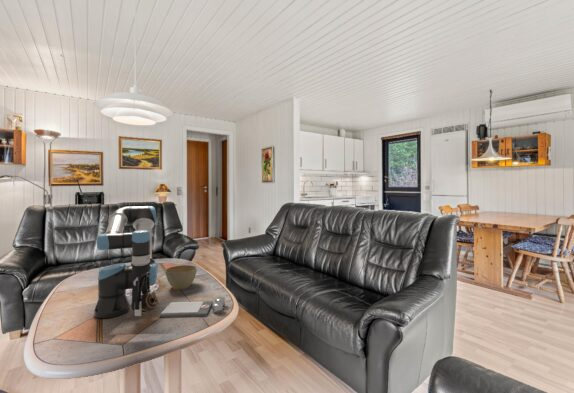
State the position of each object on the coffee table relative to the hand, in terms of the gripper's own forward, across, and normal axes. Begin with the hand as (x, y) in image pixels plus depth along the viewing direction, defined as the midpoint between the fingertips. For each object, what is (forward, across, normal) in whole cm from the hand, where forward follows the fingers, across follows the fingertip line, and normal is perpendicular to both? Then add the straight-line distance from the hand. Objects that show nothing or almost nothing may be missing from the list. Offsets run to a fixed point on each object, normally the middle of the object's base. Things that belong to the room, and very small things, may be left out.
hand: (141, 312), depth 130 cm
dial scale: (+3, +8, -19) cm, 21 cm away
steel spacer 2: (+3, +4, -35) cm, 35 cm away
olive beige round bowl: (+3, +40, -6) cm, 41 cm away
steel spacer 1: (+3, +11, -35) cm, 37 cm away
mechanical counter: (+1, 0, -1) cm, 1 cm away
